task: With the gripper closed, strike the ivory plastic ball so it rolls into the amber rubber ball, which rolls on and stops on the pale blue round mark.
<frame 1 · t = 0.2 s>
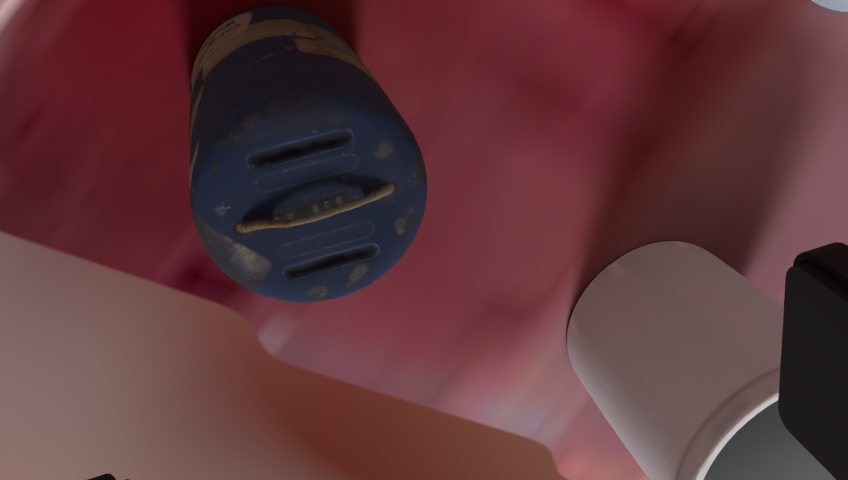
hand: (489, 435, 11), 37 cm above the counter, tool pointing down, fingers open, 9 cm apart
blue cylindrical canister: (274, 84, 45), on the counter
utensil holder: (648, 315, 61), on the counter
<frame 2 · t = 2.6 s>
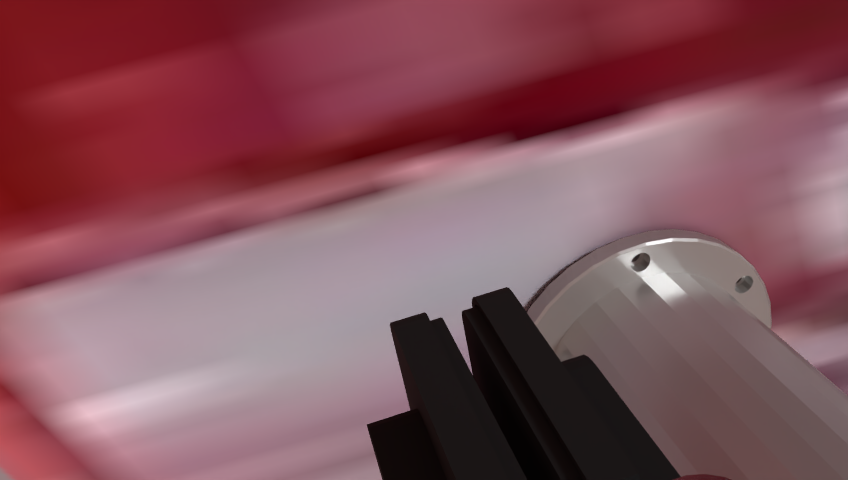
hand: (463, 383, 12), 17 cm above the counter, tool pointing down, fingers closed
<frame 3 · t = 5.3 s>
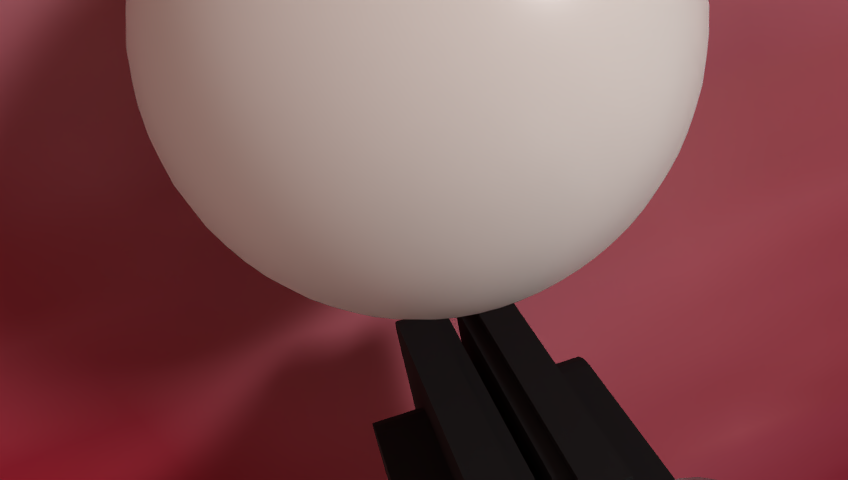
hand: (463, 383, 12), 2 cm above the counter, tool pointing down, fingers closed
cue ball: (417, 44, 8), on the counter
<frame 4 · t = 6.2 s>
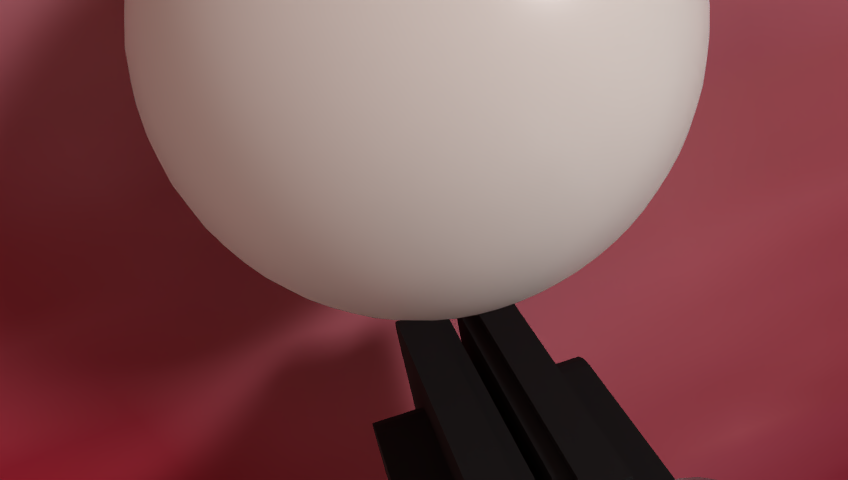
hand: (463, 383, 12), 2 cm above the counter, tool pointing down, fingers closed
cue ball: (417, 44, 8), on the counter
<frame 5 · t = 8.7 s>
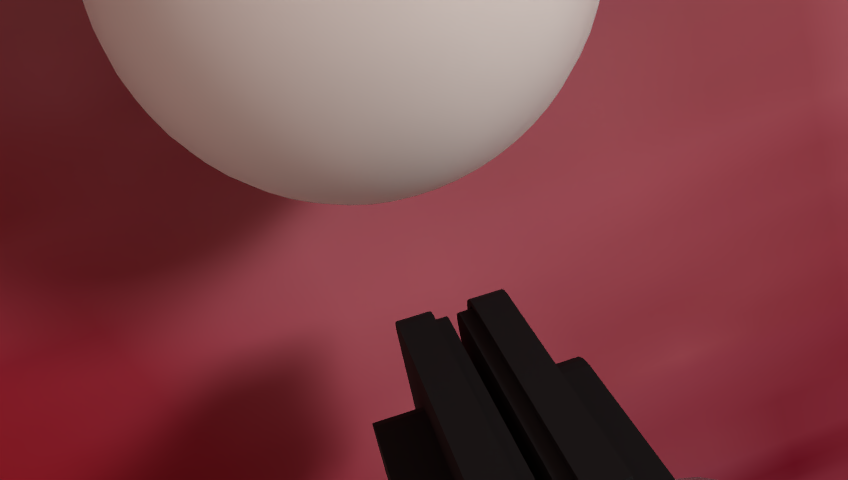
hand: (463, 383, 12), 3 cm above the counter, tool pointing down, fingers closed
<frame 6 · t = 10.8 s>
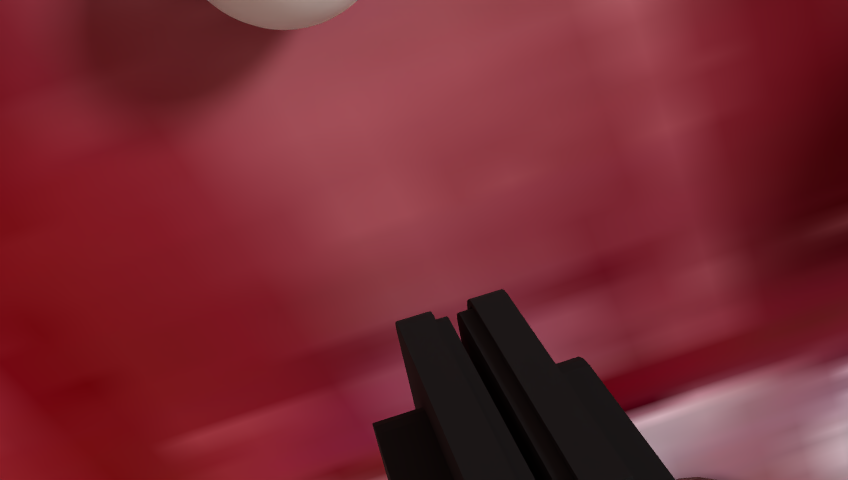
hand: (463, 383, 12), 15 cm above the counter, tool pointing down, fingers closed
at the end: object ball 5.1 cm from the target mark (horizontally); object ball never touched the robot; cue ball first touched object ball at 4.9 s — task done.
